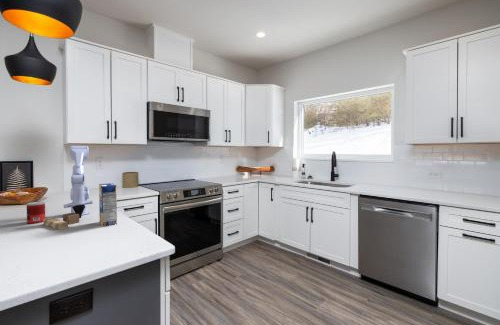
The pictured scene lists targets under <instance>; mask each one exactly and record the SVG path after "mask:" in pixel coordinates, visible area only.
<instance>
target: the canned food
mask: <svg viewBox="0 0 500 325" xmlns="http://www.w3.org/2000/svg"><path fill="white" fill-rule="evenodd" d="M43 219H46V202H45V201H34V202H27V203H26V222H27V224H29V225H33V224H34V225H36V224H40V223H44V222H43Z"/></svg>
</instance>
